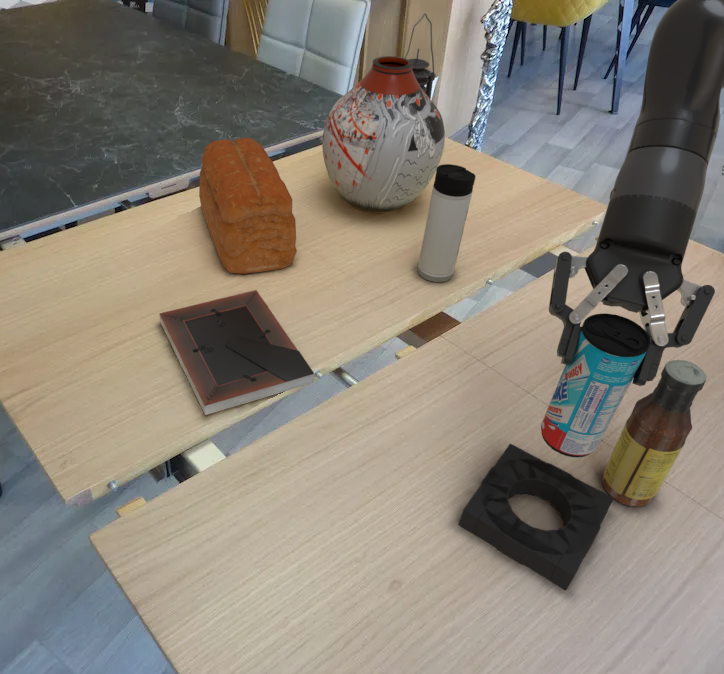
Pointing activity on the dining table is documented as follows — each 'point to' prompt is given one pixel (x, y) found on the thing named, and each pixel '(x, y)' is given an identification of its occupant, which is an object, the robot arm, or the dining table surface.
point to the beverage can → (593, 383)
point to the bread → (246, 207)
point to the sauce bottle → (653, 435)
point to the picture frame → (234, 351)
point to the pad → (523, 542)
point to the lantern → (423, 66)
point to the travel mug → (445, 222)
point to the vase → (383, 138)
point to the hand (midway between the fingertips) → (601, 373)
